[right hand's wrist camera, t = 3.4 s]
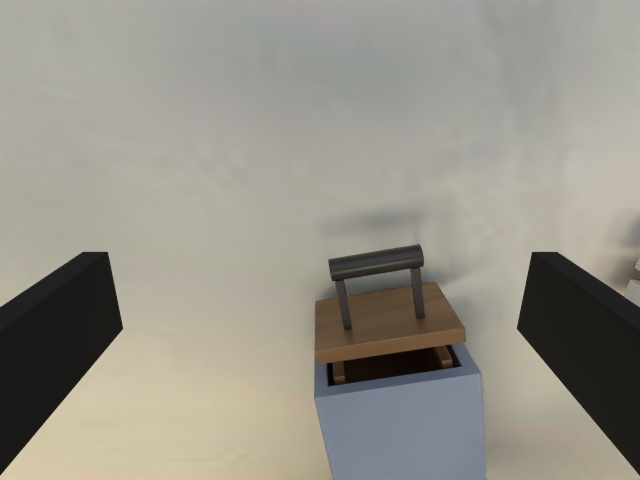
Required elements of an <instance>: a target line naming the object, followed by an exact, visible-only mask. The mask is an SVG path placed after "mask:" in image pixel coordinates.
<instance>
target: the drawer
mask: <svg viewBox="0 0 640 480" xmlns="http://www.w3.org/2000/svg"><path fill="white" fill-rule="evenodd" d="M423 265H424V257H423V252H422V249H421V246H420V245H419V244H417V245H411V246H405V247H399V248H393V249H387V250H381V251H375V252H370V253H364V254H358V255H352V256H346V257H340V258H334V259H329V268H330V274H331V279H332V281H335V283H336V289H337V294H338V298H333V299H327V300H321V301H316V302H315V355H316V360H317V364H318V365H319V364H326V363H332V362H333V375H334V382H335V386H336V385H342V384H349V383H356V382H362V381H369V380H376V379H382V378H389V377H396V376H402V375H409V374H416V373H423V372H429V371H436V370H443V369H449V368H453V360H452V358H451V356H450V354H449V352H448V350H447V348H446V346H445V345H450V344H456V343H463V342H465V328H464V326H463V325H462V323H461V321H460V320H459V318H458V317H457V315H456V313H455V312H454V310H453V309H452V307H451V305H450V304H449V302H448V301H447V299H446V297H445V296H444V294H443V293H442V291H441V289H440V288H439V286H438V285H437V283H436V282H432V283H426V284H422V281H421V271H420V267H422V266H423ZM404 269H410V272H411V281H412V286H407V287H401V288H395V289H389V290H383V291H376V292H370V293H364V294H358V295H352V296H347V295H346V290H345V284H344V279H350V278H356V277H362V276H368V275H374V274H380V273H386V272H392V271H398V270H404Z"/></svg>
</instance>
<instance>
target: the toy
mask: <svg viewBox="0 0 640 480" xmlns="http://www.w3.org/2000/svg"><path fill="white" fill-rule="evenodd" d="M635 268H636V269H637V270H639V271H640V256H639V258H638V261H637V264H636V266H635ZM624 297H625V298H627V299H628V300H630V301H631V302H633V303H634V304H636V305H637V306H639V307H640V280H634V279H630V281H629V284H628V287H627V289H626V292H625V294H624Z"/></svg>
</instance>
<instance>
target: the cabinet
mask: <svg viewBox="0 0 640 480" xmlns="http://www.w3.org/2000/svg"><path fill="white" fill-rule="evenodd" d="M445 346H446V348H447V350H448V352H449V354H450V356H451V358H452V360H453V368H449V369H443V370H436V371H429V372H423V373H416V374H409V375H402V376H396V377H389V378H382V379H376V380H369V381H362V382H356V383H349V384H342V385H336V386H335V382H334V375H333V362H332V363H326V364H319V365H318V364H317V360H316V355H315V370H314V400H315V404H316V409H317V413H318V417H319V422H320V426H321V430H322V434H323V439H324V443H325V447H326V452H327V456H328V460H329V465H330V469H331V473H332V478H333V480H486V463H485V442H484V421H483V400H482V379H481V372H480V371H479V369H478V367H477V366H476V364H475V362H474V361H473V359H472V357H471V356H470V354H469V352H468V350H467V349H466V347H465V345H464V344H463V343H456V344H450V345H445Z"/></svg>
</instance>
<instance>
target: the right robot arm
mask: <svg viewBox="0 0 640 480" xmlns="http://www.w3.org/2000/svg"><path fill="white" fill-rule="evenodd" d="M122 329H123V325H122V320H121V315H120V310H119V306H118V301H117V296H116V291H115V286H114V281H113V276H112V271H111V266H110V261H109V256H108V252H82V253H81V254H79V255H78V256H76V257H75V258H73V259H72V260H70V261H69V262H67V263H66V264H64V265H63V266H61V267H60V268H58V269H57V270H55V271H54V272H52V273H51V274H49V275H48V276H46V277H45V278H43V279H42V280H40V281H39V282H37V283H36V284H34V285H33V286H31V287H30V288H28V289H27V290H25V291H24V292H22V293H21V294H19V295H18V296H16V297H15V298H13V299H12V300H10V301H9V302H7V303H6V304H4V305H3V306H1V307H0V475H1V474H2V473H3V472H4V470H5V469H6V468H7V467H8V466H9V464H10V463H11V462H12V461H13V460H14V458H15V457H16V456H17V455H18V454H19V452H20V451H21V450H22V449H23V448H24V446H25V445H26V444H27V443H28V442H29V440H30V439H31V438H32V437H33V436H34V435H35V433H36V432H37V431H38V430H39V429H40V427H41V426H42V425H43V424H44V423H45V421H46V420H47V419H48V418H49V417H50V415H51V414H52V413H53V412H54V411H55V409H56V408H57V407H58V406H59V405H60V403H61V402H62V401H63V400H64V399H65V397H66V396H67V395H68V394H69V393H70V392H71V390H72V389H73V388H74V387H75V386H76V384H77V383H78V382H79V381H80V380H81V378H82V377H83V376H84V375H85V374H86V372H87V371H88V370H89V369H90V368H91V366H92V365H93V364H94V363H95V362H96V360H97V359H98V358H99V357H100V356H101V354H102V353H103V352H104V351H105V350H106V349H107V347H108V346H109V345H110V344H111V343H112V341H113V340H114V339H115V338H116V337H117V335H118V334H119V333H120V332H121V331H122ZM517 329H518V331H519V332H520V333H521V334H522V335H523V337H524V338H525V339H526V340H527V341H528V343H529V344H530V345H531V346H532V347H533V349H534V350H535V351H536V352H537V353H538V354H539V356H540V357H541V358H542V359H543V360H544V362H545V363H546V364H547V365H548V366H549V368H550V369H551V370H552V371H553V372H554V374H555V375H556V376H557V377H558V378H559V380H560V381H561V382H562V383H563V384H564V386H565V387H566V388H567V389H568V390H569V392H570V393H571V394H572V395H573V396H574V397H575V399H576V400H577V401H578V402H579V403H580V405H581V406H582V407H583V408H584V409H585V411H586V412H587V413H588V414H589V415H590V417H591V418H592V419H593V420H594V421H595V423H596V424H597V425H598V426H599V427H600V429H601V430H602V431H603V432H604V433H605V435H606V436H607V437H608V438H609V439H610V441H611V442H612V443H613V444H614V445H615V446H616V448H617V449H618V450H619V451H620V452H621V454H622V455H623V456H624V457H625V458H626V460H627V461H628V462H629V463H630V464H631V466H632V467H633V468H634V469H635V470H636V472H637V473H638V474H639V475H640V307H639V306H637V305H636V304H634V303H633V302H631V301H630V300H628V299H627V298H625V297H624V296H622V295H621V294H619V293H618V292H616V291H615V290H613V289H612V288H610V287H609V286H607V285H606V284H604V283H603V282H601V281H600V280H598V279H597V278H595V277H594V276H592V275H591V274H589V273H588V272H586V271H585V270H583V269H582V268H580V267H579V266H577V265H576V264H574V263H573V262H571V261H570V260H568V259H567V258H565V257H564V256H562V255H561V254H559V253H558V252H532V256H531V261H530V266H529V271H528V276H527V281H526V286H525V291H524V296H523V301H522V305H521V310H520V315H519V320H518V325H517Z"/></svg>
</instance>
